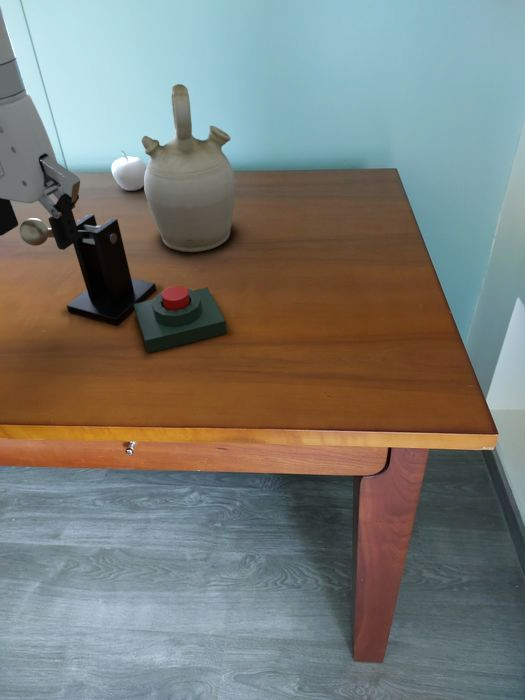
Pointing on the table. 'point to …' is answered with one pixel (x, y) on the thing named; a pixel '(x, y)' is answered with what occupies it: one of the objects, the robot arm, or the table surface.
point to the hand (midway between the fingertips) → (38, 237)
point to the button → (175, 298)
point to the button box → (179, 321)
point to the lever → (49, 232)
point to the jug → (189, 183)
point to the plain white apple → (129, 172)
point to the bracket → (106, 276)
